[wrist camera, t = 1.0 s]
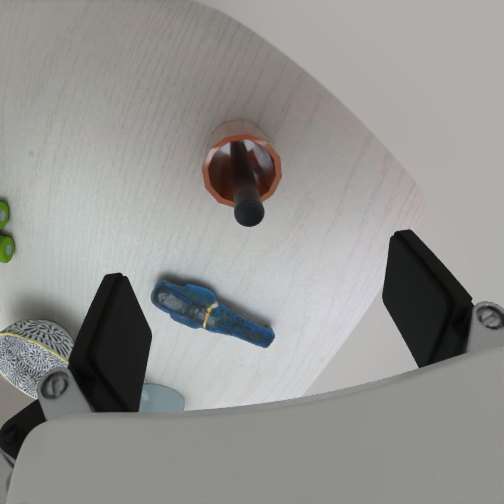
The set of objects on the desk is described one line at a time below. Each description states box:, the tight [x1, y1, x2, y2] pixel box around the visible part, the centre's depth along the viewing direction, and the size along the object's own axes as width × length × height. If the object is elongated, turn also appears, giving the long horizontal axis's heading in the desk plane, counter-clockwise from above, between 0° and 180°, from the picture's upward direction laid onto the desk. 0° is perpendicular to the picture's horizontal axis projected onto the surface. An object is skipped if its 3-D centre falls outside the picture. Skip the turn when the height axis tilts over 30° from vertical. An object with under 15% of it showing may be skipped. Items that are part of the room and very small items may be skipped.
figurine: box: [151, 280, 275, 348], centre depth 34 cm, size 5×4×15 cm
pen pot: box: [202, 120, 282, 207], centre depth 23 cm, size 5×5×7 cm
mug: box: [139, 384, 184, 412], centre depth 40 cm, size 14×9×10 cm
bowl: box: [0, 319, 75, 399], centre depth 34 cm, size 16×16×8 cm
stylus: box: [230, 142, 264, 227], centre depth 20 cm, size 2×1×13 cm
